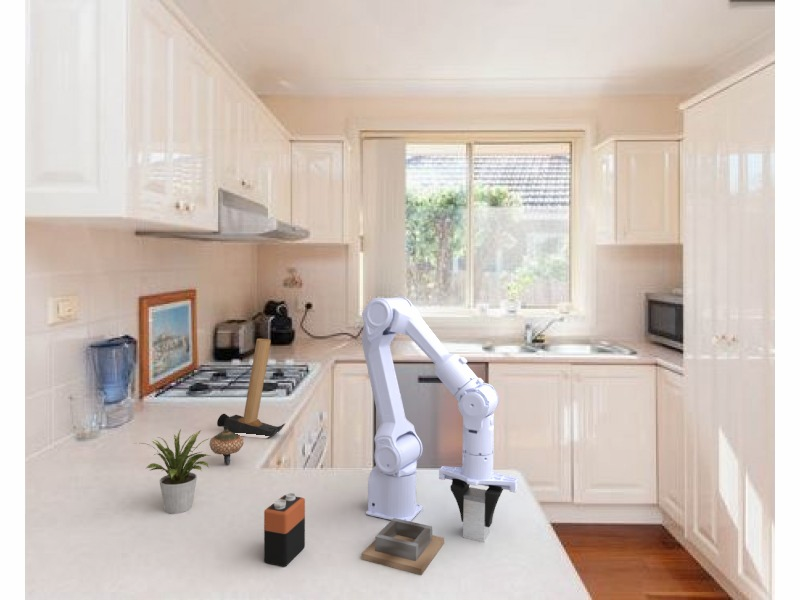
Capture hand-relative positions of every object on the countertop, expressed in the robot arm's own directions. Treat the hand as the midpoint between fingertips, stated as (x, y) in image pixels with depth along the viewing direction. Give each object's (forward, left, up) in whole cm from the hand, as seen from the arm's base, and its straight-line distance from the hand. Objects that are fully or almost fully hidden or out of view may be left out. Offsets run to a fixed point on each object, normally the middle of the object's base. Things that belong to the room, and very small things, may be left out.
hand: (476, 522), depth 95 cm
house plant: (-59, -17, -3) cm, 61 cm away
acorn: (-67, +7, -3) cm, 68 cm away
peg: (0, 0, -2) cm, 2 cm away
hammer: (-79, +30, -3) cm, 85 cm away
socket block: (-10, -11, -2) cm, 15 cm away
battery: (-28, -21, -3) cm, 35 cm away
